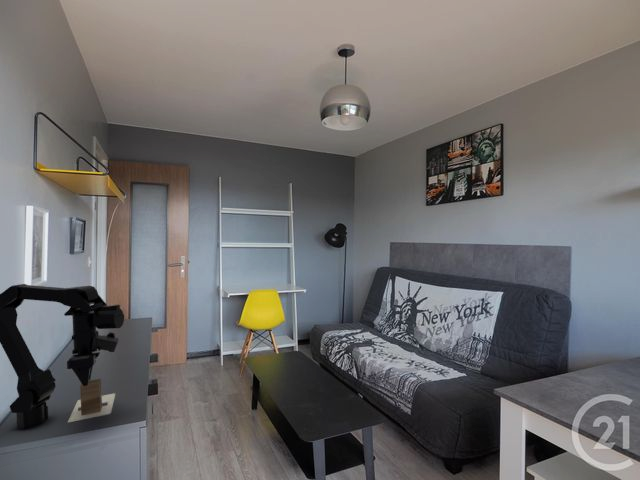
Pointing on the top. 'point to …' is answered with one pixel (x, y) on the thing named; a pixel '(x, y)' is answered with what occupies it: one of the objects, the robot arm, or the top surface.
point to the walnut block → (91, 397)
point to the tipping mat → (106, 409)
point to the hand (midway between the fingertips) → (86, 382)
